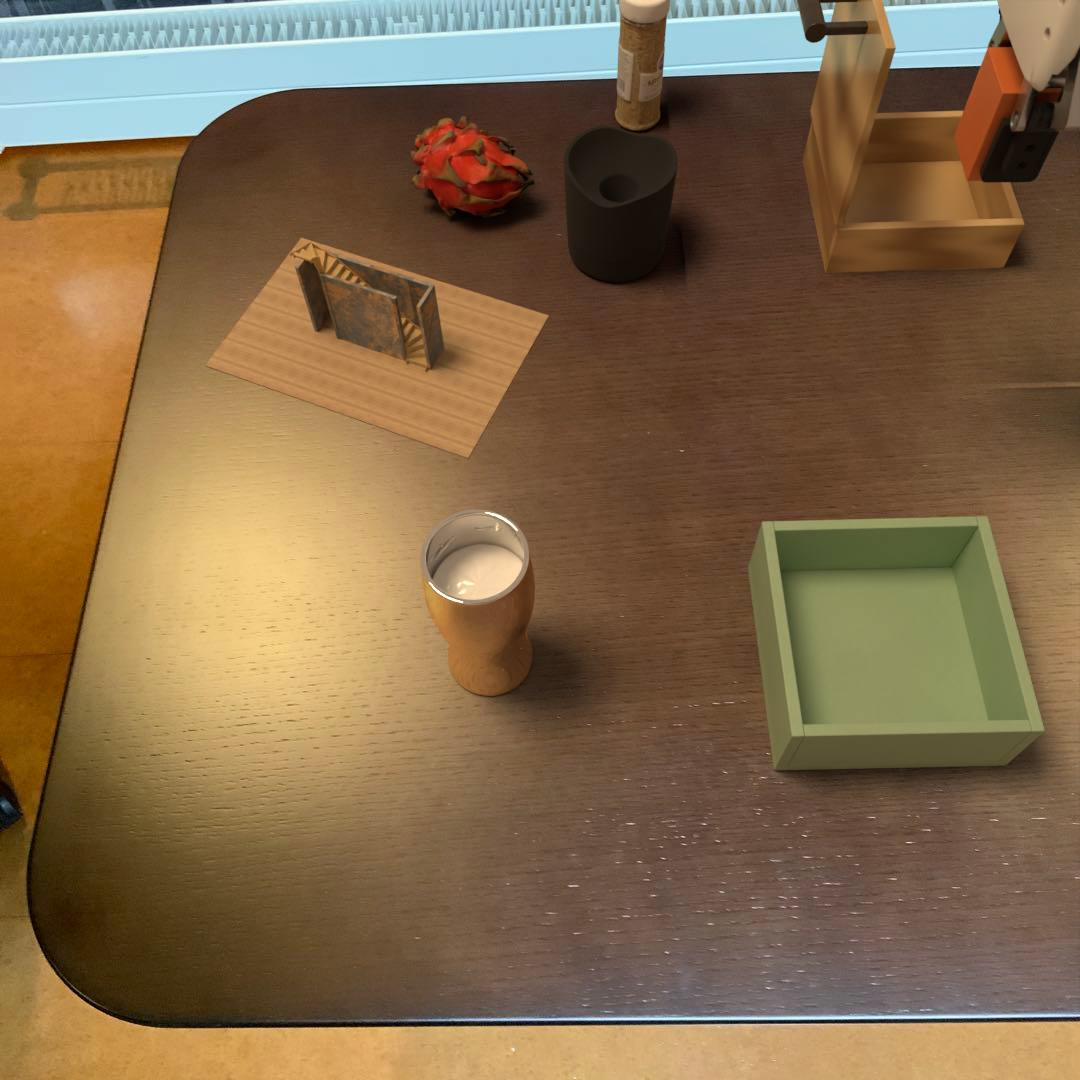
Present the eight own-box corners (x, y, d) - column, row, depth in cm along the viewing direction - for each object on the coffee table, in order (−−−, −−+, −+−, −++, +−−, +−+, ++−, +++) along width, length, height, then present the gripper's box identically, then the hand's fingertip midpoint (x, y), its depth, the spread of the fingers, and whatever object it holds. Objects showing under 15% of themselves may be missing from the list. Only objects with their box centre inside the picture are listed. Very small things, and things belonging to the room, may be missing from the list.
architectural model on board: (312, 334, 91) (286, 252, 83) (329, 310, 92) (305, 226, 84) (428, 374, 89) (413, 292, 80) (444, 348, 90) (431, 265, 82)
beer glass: (427, 684, 74) (397, 586, 62) (464, 601, 78) (443, 492, 65) (518, 715, 73) (508, 622, 60) (552, 630, 76) (549, 524, 63)
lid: (861, -72, 81) (792, -70, 81) (896, 47, 73) (820, 50, 73) (817, 110, 95) (759, 112, 95) (843, 225, 88) (779, 227, 88)
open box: (956, 563, 78) (987, 515, 72) (1005, 765, 71) (1045, 731, 65) (747, 567, 79) (761, 520, 73) (773, 770, 71) (791, 736, 65)
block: (1019, 135, 64) (1059, 45, 59) (1034, 180, 62) (1077, 91, 57) (953, 136, 64) (987, 46, 59) (966, 181, 62) (1002, 93, 57)
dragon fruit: (412, 192, 102) (527, 233, 101) (383, 201, 94) (507, 245, 94) (434, 101, 98) (554, 143, 98) (405, 103, 91) (534, 148, 90)
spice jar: (659, 133, 103) (671, 4, 91) (613, 132, 103) (618, 3, 92) (660, 103, 105) (671, -27, 94) (614, 102, 106) (620, -28, 94)
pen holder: (631, 199, 99) (637, 108, 90) (688, 261, 94) (700, 172, 86) (545, 237, 96) (542, 148, 88) (599, 303, 92) (602, 215, 84)
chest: (964, 161, 100) (985, 109, 95) (1000, 274, 93) (1025, 224, 88) (800, 166, 100) (813, 114, 95) (823, 279, 93) (838, 229, 88)
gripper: (1296, -82, 42) (1097, 252, 58) (1173, -278, 51) (1028, 61, 67) (1109, -79, 43) (961, 254, 58) (1017, -275, 51) (910, 63, 67)
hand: (998, 148), depth 62 cm, fingers closed on block, 4 cm apart
